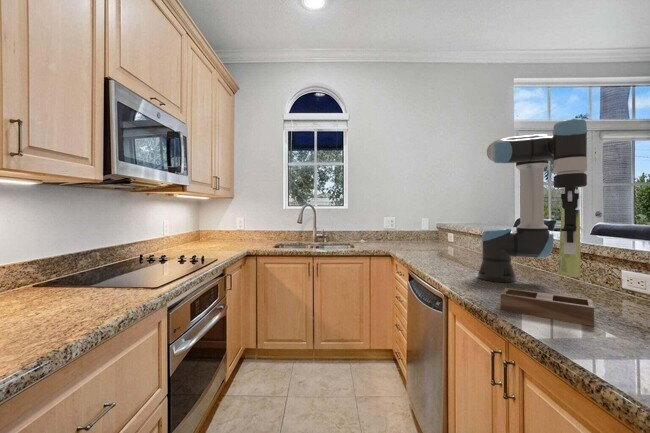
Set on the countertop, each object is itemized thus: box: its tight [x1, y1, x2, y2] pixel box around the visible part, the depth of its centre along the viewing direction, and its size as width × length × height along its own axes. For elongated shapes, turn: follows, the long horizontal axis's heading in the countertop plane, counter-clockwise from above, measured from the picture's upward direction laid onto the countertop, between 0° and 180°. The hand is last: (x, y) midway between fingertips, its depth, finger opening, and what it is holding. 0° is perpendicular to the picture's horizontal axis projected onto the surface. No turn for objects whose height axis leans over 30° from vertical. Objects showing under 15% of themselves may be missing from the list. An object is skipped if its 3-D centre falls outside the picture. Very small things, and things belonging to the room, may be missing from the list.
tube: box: [558, 208, 581, 278], centre depth 86 cm, size 6×5×20 cm
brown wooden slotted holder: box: [500, 287, 595, 327], centre depth 91 cm, size 10×22×5 cm, turn 50°
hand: (569, 252), depth 86 cm, fingers closed on tube, 6 cm apart
